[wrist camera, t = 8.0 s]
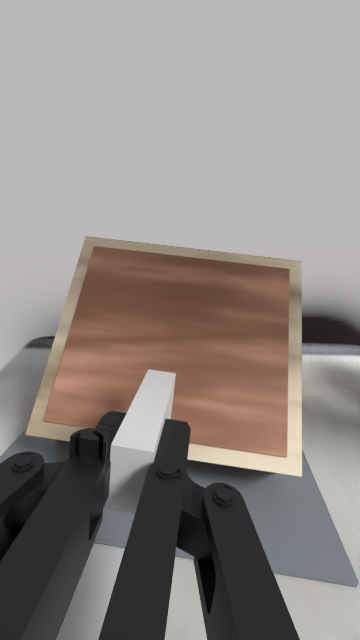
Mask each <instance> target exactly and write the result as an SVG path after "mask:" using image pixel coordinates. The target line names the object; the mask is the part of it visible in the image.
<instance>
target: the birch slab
mask: <svg viewBox="0 0 360 640" xmlns="http://www.w3.org/2000/svg"><path fill="white" fill-rule="evenodd" d="M301 314H302V311H301V261H296V260H288V259H279V258H271V257H262V256H253V255H245V254H235V253H227V252H219V251H210V250H201V249H192V248H184V247H174V246H166V245H158V244H149V243H140V242H131V241H123V240H113V239H105V238H96V237H88V236H86V237H85V241H84V244H83V247H82V250H81V254H80V257H79V260H78V264H77V267H76V270H75V273H74V277H73V280H72V283H71V286H70V290H69V293H68V296H67V300H66V303H65V306H64V310H63V313H62V316H61V319H60V322H59V326H58V329H57V333H56V336H55V339H54V342H53V345H52V349H51V352H50V355H49V358H48V362H47V365H46V368H45V372H44V375H43V378H42V381H41V385H40V388H39V391H38V395H37V398H36V401H35V404H34V408H33V411H32V414H31V417H30V421H29V424H28V427H27V431H26V434H25V435H31V436H37V437H44V438H50V439H57V440H63V441H70V436H71V435H72V434H73V433H74V432H76V431H78V430H80V429H86V428H95V427H96V426H97V424H98V422H99V421H100V419H101V418H102V416H103V415H105V414H106V413H108V412H109V411H117V412H123V413H127V412H128V410H129V408H130V406H131V404H132V401H133V399H134V397H135V395H136V393H137V391H138V389H139V387H140V385H141V383H142V381H143V379H144V377H145V375H146V373H147V371H148V369H150V370H156V371H163V372H170V373H176V378H175V386H174V395H173V403H172V412H171V419H173V420H179V421H185V422H188V424H189V426H190V428H191V433H190V441H189V449H188V457H187V459H188V460H195V461H201V462H208V463H215V464H221V465H228V466H234V467H241V468H247V469H254V470H261V471H267V472H274V473H280V474H287V475H293V476H300V477H302V322H301V321H302V317H301V316H302V315H301Z"/></svg>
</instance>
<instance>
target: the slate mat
mask: <svg viewBox="0 0 360 640" xmlns="http://www.w3.org/2000/svg"><path fill="white" fill-rule="evenodd" d="M26 431H27V429H26V430H25V431H24V432H23V433H22V434H21V435H20V437H19V438H18V439H17V440H16V441H15V442H14V443H13V444H12V445H11V446H10V447H9V448H8V449H7V450H6V451H5V453H4V454H3V455H2V456H1V457H0V463H2V462H3V461H5V460H6V459H7V458H9V457H11V456H12V455H14V454H17V453H21V452H28V451H32V452H37V453H39V454H40V455H42V456H43V458H44V463H53V462H62V461H66V460H67V459H68V458H69V456H70V441H63V440H57V439H50V438H44V437H37V436H31V435H25V434H26ZM186 471H187V474H188V476H189V477H190V479H191V480H192V481H194V482H195V483H196V484H198V485H200V486H202V487H204V488H206V487H207V486H209V485H210V484H212V483H218V482H220V483H226V484H229V485H231V486H233V487H235V488H236V489H237V490H238V491H239V492H240V493H241V495H242V496H243V498H244V501H245V503H246V506H247V508H248V511H249V514H250V516H251V519H252V521H253V524H254V526H255V529H256V531H257V534H258V536H259V539H260V541H261V544H262V546H263V549H264V551H265V554H266V556H267V559H268V561H269V564H270V566H271V569H272V571H273V573H276V574H282V575H288V576H294V577H300V578H306V579H312V580H318V581H324V582H329V583H335V584H341V585H347V586H353V587H357V585H358V580H357V577H356V575H355V573H354V570H353V568H352V566H351V563H350V561H349V558H348V556H347V554H346V551H345V549H344V547H343V544H342V542H341V540H340V537H339V535H338V533H337V530H336V528H335V526H334V523H333V521H332V519H331V516H330V514H329V512H328V509H327V507H326V505H325V502H324V500H323V498H322V495H321V493H320V490H319V488H318V486H317V483H316V481H315V479H314V476H313V474H312V472H311V469H310V467H309V465H308V462H307V460H306V458H305V455H304V453H303V451H302V477H300V476H293V475H287V474H280V473H274V472H267V471H261V470H254V469H247V468H241V467H234V466H228V465H221V464H215V463H208V462H201V461H195V460H188V459H187V465H186ZM134 516H135V514H132V513H126V512H121V511H115V510H110V509H107V501H106V503H105V506H104V508H103V518H102V523H101V525H100V528H99V531H98V533H97V536H96V538H95V541H94V543H100V544H105V545H111V546H117V547H123V548H125V547H126V544H127V540H128V537H129V533H130V530H131V526H132V523H133V519H134ZM175 556H176V557H182V558H188V559H194V556H192V555H190V554H188V553H186V552H184V551H183V550H181V549H179V548H177V547H176V553H175Z"/></svg>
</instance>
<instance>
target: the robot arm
mask: <svg viewBox="0 0 360 640" xmlns="http://www.w3.org/2000/svg"><path fill="white" fill-rule="evenodd" d="M175 378H176V373H170V372H163V371H156V370H150V369H148V371H147V373H146V375H145V377H144V379H143V381H142V383H141V385H140V387H139V389H138V391H137V393H136V395H135V397H134V399H133V401H132V404H131V406H130V408H129V410H128V412H127V413H123V412H117V411H109V412H108V413H106V414H105V415H103V416H102V418H101V419H100V421H99V422H98V424H97V426H96V427H95V428H86V429H80V430H78V431H76V432H74V433H73V434H72V435H71V436H70V456H69V458H68V459H67V460H66V461H62V462H53V463H44V458H43V456H42V455H40V454H39V453H37V452H32V451H28V452H21V453H17V454H14V455H12V456H11V457H9V458H7V459H6V460H5V461H3V462H2V463H0V640H56V638H57V635H58V633H59V630H60V628H61V625H62V622H63V620H64V617H65V615H66V612H67V610H68V607H69V605H70V602H71V599H72V597H73V594H74V592H75V589H76V587H77V584H78V582H79V579H80V576H81V574H82V571H83V569H84V566H85V564H86V561H87V559H88V556H89V554H90V551H91V548H92V546H93V543H94V541H95V538H96V536H97V533H98V531H99V528H100V525H101V523H102V518H103V508H104V506H105V503H106V501H107V509H110V510H115V511H121V512H126V513H132V514H135V516H134V519H133V523H132V526H131V530H130V533H129V537H128V540H127V544H126V547H125V550H124V554H123V557H122V561H121V564H120V568H119V571H118V574H117V578H116V581H115V585H114V588H113V592H112V595H111V599H110V602H109V605H108V609H107V612H106V616H105V619H104V623H103V626H102V629H101V633H100V636H99V640H164V638H165V631H166V623H167V615H168V607H169V599H170V592H171V584H172V576H173V568H174V560H175V553H176V547H177V548H179V549H181V550H183V551H184V552H186V553H188V554H190V555H192V556H194V566H195V571H196V577H197V583H198V588H199V594H200V600H201V606H202V611H203V617H204V623H205V628H206V634H207V640H300V639H299V637H298V634H297V632H296V629H295V627H294V624H293V622H292V619H291V617H290V614H289V612H288V609H287V607H286V604H285V602H284V599H283V596H282V594H281V591H280V589H279V586H278V584H277V581H276V579H275V576H274V574H273V571H272V569H271V566H270V564H269V561H268V559H267V556H266V554H265V551H264V549H263V546H262V544H261V541H260V539H259V536H258V534H257V531H256V529H255V526H254V524H253V521H252V519H251V516H250V514H249V511H248V508H247V506H246V503H245V501H244V498H243V496H242V495H241V493H240V492H239V491H238V490H237V489H236V488H235V487H233V486H231V485H229V484H226V483H220V482H218V483H212V484H210V485H209V486H207V487H206V488H204V487H202V486H200V485H198V484H196V483H195V482H194V481H192V480H191V479H190V477H189V476H188V474H187V471H186V465H187V457H188V449H189V441H190V433H191V428H190V426H189V424H188V422H185V421H179V420H173V419H171V412H172V403H173V395H174V386H175Z"/></svg>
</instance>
